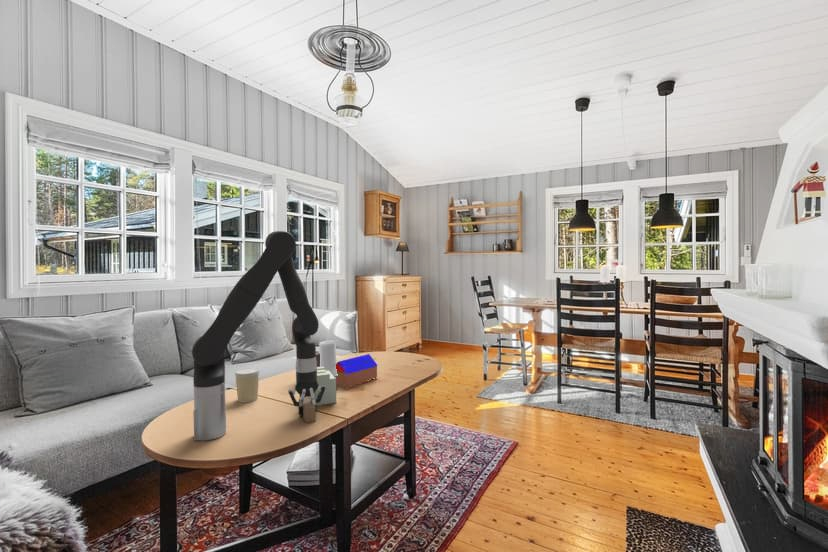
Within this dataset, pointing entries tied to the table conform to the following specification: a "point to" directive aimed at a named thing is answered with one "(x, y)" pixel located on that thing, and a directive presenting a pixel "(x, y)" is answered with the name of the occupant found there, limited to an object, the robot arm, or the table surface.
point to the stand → (326, 386)
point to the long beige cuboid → (308, 410)
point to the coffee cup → (247, 384)
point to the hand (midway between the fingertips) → (307, 414)
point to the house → (355, 370)
